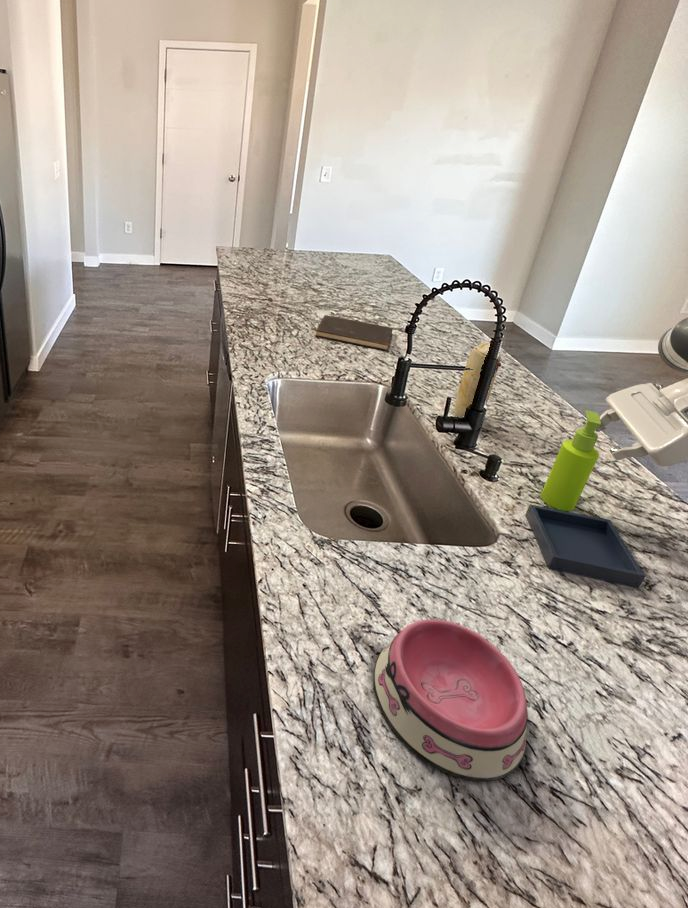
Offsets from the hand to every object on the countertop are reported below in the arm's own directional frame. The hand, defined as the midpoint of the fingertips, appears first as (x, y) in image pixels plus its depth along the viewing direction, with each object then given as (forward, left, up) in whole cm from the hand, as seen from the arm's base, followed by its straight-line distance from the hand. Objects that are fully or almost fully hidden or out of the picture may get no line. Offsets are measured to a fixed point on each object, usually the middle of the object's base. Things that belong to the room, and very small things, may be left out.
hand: (602, 440), depth 103 cm
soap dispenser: (+3, +1, -15) cm, 15 cm away
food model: (+15, -27, -15) cm, 35 cm away
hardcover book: (+42, -71, -15) cm, 84 cm away
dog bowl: (+32, +52, -15) cm, 63 cm away
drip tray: (+4, +15, -15) cm, 21 cm away
